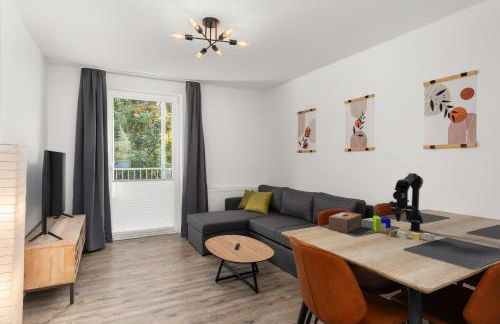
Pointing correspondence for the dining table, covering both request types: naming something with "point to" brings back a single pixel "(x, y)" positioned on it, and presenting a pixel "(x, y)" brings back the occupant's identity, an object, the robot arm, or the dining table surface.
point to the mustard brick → (415, 235)
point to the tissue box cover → (345, 221)
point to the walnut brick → (389, 232)
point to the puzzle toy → (381, 223)
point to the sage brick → (402, 234)
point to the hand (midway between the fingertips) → (402, 221)
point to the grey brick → (428, 236)
